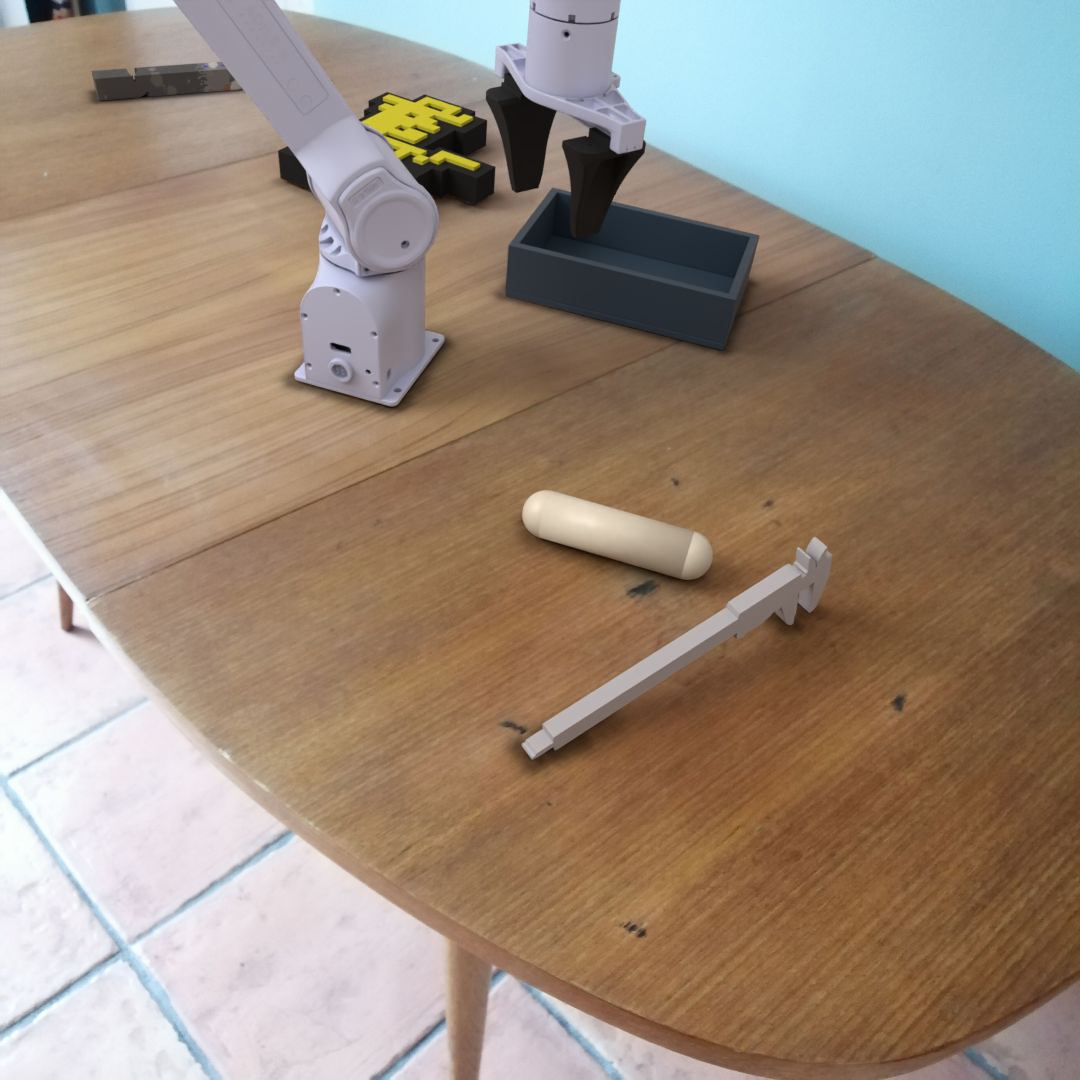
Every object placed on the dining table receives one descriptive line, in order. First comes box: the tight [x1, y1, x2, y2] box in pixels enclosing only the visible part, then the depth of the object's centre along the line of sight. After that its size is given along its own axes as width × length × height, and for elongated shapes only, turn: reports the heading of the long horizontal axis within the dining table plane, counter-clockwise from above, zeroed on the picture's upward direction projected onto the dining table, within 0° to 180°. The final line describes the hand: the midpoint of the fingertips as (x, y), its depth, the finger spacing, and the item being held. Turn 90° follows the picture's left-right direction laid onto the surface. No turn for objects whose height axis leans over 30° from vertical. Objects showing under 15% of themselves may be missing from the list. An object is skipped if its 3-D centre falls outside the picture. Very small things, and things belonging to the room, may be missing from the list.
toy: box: [277, 91, 497, 206], centre depth 97 cm, size 18×3×20 cm
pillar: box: [90, 61, 243, 101], centre depth 107 cm, size 2×2×20 cm
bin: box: [504, 187, 760, 351], centre depth 84 cm, size 11×18×5 cm, turn 72°
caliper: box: [521, 536, 833, 760], centre depth 54 cm, size 20×1×6 cm, turn 124°
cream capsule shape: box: [521, 489, 714, 581], centre depth 61 cm, size 3×12×3 cm, turn 72°
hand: (554, 210), depth 73 cm, fingers open, 7 cm apart
